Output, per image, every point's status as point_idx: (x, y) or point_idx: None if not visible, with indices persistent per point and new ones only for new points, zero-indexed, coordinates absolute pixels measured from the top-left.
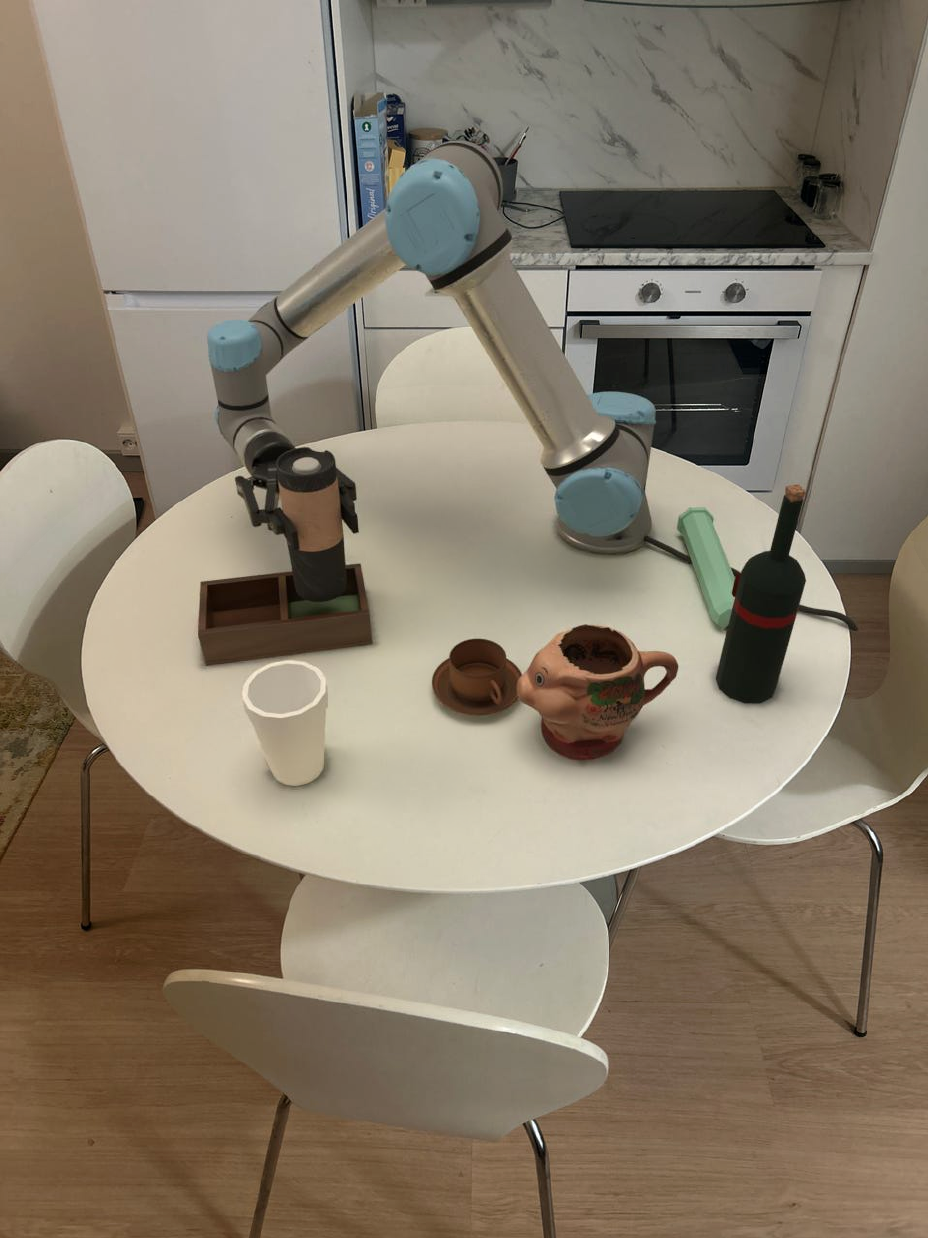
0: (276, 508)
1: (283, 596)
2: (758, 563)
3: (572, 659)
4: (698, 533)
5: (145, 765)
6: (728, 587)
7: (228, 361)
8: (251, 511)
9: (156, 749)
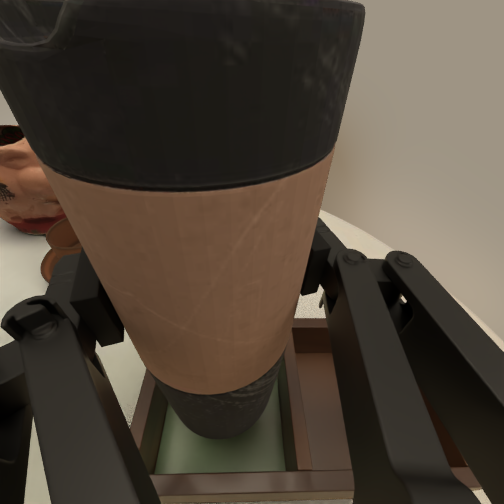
0: (325, 247)
1: (293, 387)
2: None
3: (2, 201)
4: None
5: (380, 246)
6: None
7: None
8: (407, 253)
9: (379, 256)
